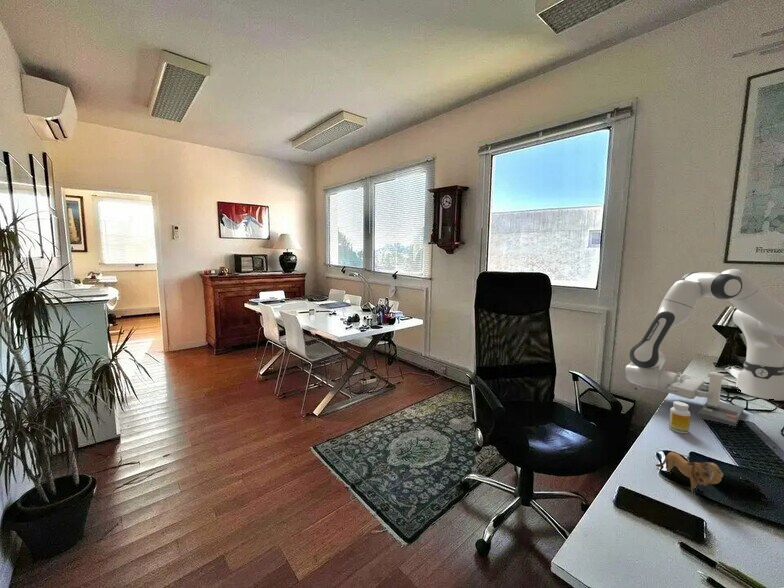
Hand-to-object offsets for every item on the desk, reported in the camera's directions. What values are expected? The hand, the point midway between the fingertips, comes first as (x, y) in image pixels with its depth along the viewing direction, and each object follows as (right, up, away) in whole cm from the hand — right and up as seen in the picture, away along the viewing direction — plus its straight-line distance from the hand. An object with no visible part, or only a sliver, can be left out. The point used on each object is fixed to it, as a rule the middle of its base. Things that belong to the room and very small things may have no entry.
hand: (715, 393), depth 129 cm
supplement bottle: (-25, -10, -12) cm, 30 cm away
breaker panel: (+1, -8, -1) cm, 8 cm away
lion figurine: (-47, -13, -40) cm, 64 cm away
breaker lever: (0, -6, +1) cm, 6 cm away
